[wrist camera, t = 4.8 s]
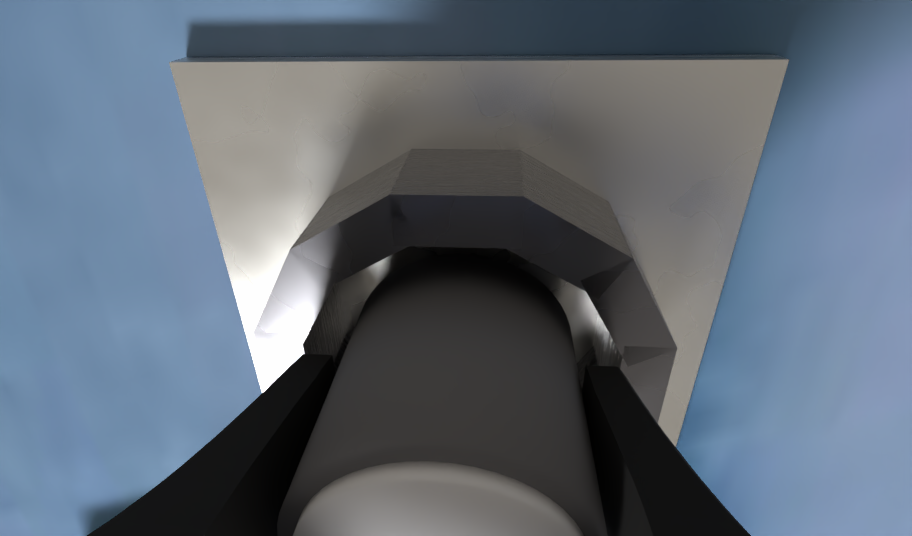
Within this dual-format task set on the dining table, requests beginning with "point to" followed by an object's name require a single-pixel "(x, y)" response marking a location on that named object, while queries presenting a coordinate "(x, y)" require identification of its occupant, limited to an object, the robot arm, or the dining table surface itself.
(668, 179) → the white square plate
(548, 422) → the gray cylindrical peg
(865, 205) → the dining table surface
